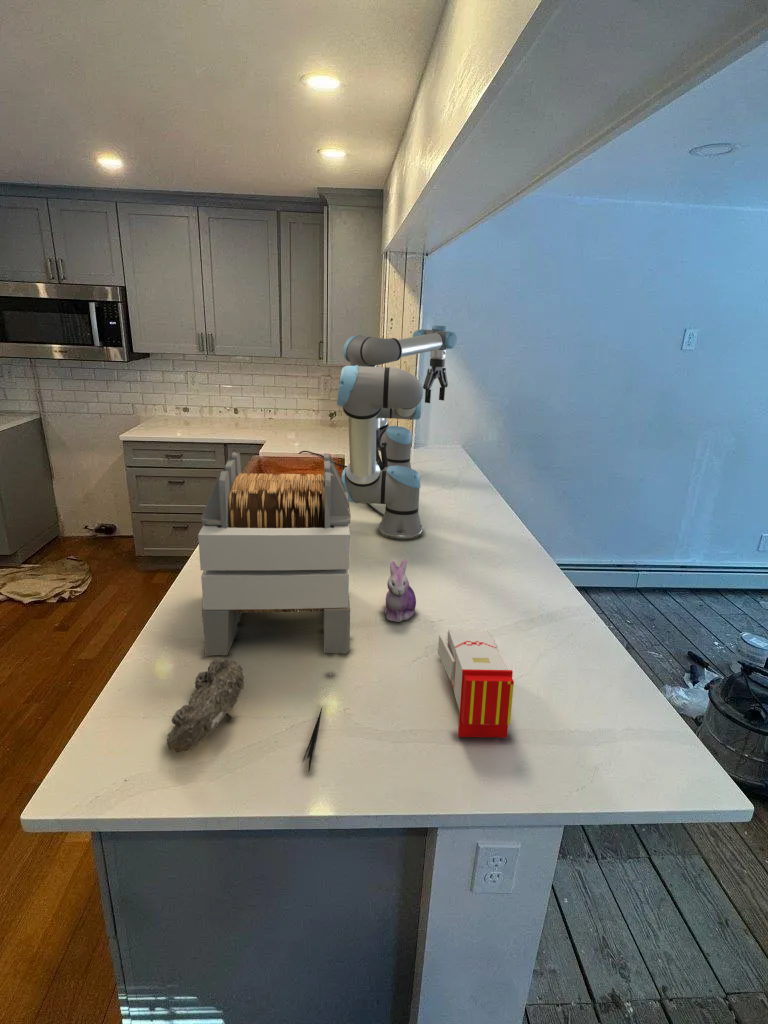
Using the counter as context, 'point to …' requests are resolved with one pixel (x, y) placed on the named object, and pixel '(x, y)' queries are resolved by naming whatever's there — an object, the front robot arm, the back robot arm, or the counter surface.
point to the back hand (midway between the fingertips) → (434, 401)
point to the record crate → (275, 551)
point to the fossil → (206, 705)
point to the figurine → (399, 594)
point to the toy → (478, 682)
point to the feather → (313, 740)
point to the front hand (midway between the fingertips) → (368, 485)
